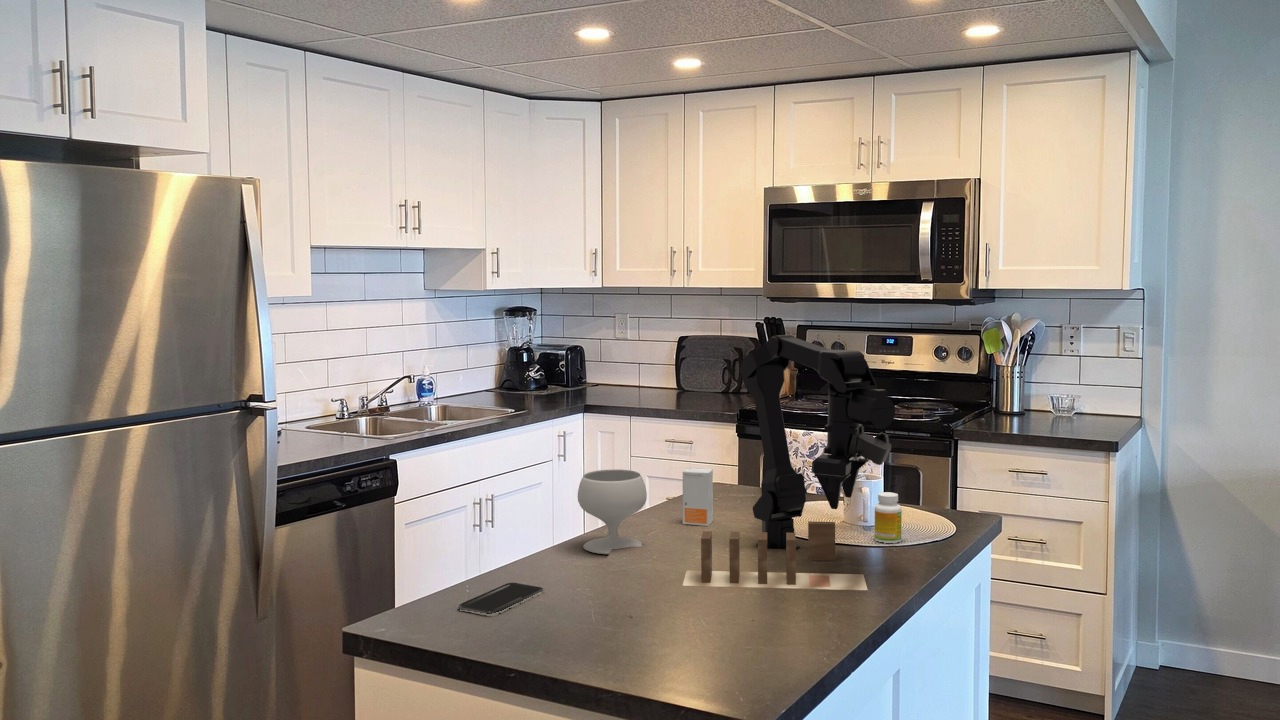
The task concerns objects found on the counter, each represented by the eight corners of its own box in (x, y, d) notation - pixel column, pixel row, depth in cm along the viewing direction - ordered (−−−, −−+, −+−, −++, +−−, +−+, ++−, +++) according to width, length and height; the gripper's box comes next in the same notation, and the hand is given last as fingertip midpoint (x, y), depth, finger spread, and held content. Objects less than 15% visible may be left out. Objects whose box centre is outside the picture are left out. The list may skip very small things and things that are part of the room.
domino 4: (786, 584, 185) (786, 540, 184) (786, 576, 190) (786, 532, 189) (795, 584, 185) (795, 540, 184) (795, 576, 190) (795, 532, 189)
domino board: (682, 591, 185) (682, 585, 185) (686, 575, 194) (686, 570, 194) (867, 595, 181) (867, 590, 181) (863, 579, 190) (863, 574, 190)
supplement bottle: (901, 544, 213) (902, 497, 212) (874, 543, 214) (874, 496, 213) (900, 537, 218) (901, 491, 217) (874, 536, 219) (874, 490, 218)
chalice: (629, 535, 223) (627, 465, 222) (659, 551, 211) (658, 477, 209) (568, 544, 217) (566, 472, 216) (595, 561, 205) (594, 485, 203)
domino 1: (701, 582, 187) (700, 538, 186) (703, 574, 192) (702, 531, 191) (710, 582, 187) (710, 538, 186) (712, 574, 192) (711, 531, 191)
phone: (455, 606, 177) (510, 581, 190) (455, 612, 177) (510, 587, 190) (492, 613, 173) (546, 588, 186) (492, 620, 173) (546, 594, 186)
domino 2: (729, 583, 186) (729, 538, 186) (730, 574, 191) (730, 531, 190) (738, 583, 186) (738, 539, 185) (739, 574, 191) (739, 531, 190)
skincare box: (682, 525, 231) (681, 471, 230) (687, 520, 235) (686, 467, 234) (709, 526, 229) (708, 472, 228) (713, 521, 233) (713, 468, 232)
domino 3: (758, 583, 186) (757, 539, 185) (758, 575, 191) (758, 532, 190) (767, 584, 185) (767, 539, 185) (767, 575, 190) (767, 532, 190)
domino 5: (835, 565, 199) (835, 524, 199) (808, 564, 200) (808, 523, 199) (834, 563, 201) (834, 521, 200) (808, 562, 202) (808, 521, 201)
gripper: (874, 432, 180) (871, 521, 182) (899, 415, 197) (897, 496, 199) (811, 426, 185) (809, 513, 187) (841, 410, 202) (839, 489, 204)
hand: (841, 503), depth 194 cm, fingers open, 9 cm apart
